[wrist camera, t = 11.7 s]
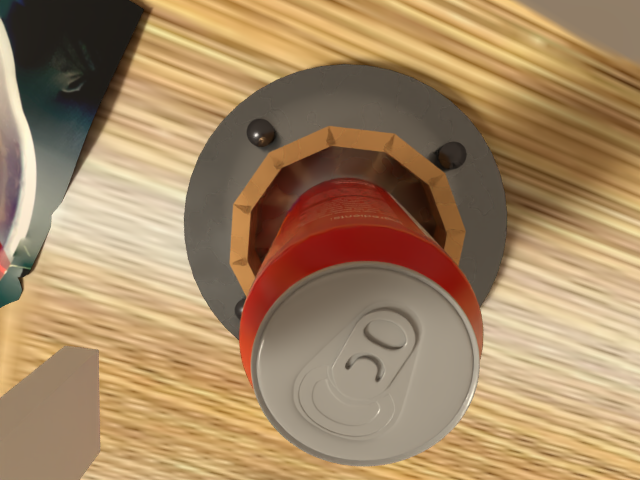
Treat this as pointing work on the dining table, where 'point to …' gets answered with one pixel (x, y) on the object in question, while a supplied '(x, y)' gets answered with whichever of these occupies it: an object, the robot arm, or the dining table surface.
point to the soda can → (360, 329)
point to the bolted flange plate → (339, 173)
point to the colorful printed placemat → (49, 111)
